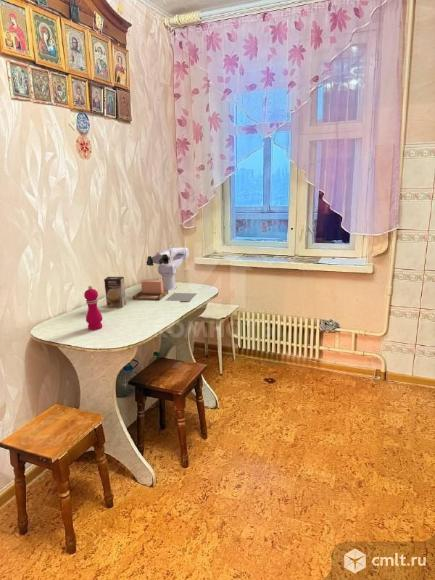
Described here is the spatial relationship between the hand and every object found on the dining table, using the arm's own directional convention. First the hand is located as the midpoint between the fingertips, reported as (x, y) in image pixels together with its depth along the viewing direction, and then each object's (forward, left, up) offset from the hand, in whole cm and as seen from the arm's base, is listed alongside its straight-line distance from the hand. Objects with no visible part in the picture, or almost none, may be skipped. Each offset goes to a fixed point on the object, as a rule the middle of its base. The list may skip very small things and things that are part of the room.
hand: (153, 263), depth 222 cm
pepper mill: (+50, -11, -21) cm, 55 cm away
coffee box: (+18, -16, -21) cm, 32 cm away
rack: (-1, -4, -20) cm, 21 cm away
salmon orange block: (-4, -4, -21) cm, 21 cm away
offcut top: (+3, -3, -20) cm, 21 cm away
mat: (-2, +14, -20) cm, 25 cm away
